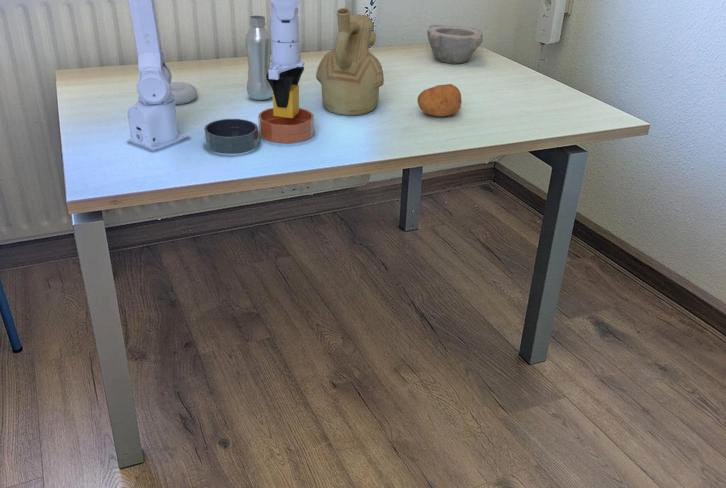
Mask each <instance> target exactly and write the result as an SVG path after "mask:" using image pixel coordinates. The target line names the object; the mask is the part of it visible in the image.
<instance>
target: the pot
mask: <svg viewBox="0 0 726 488" xmlns="http://www.w3.org/2000/svg"><path fill="white" fill-rule="evenodd" d="M203 132H204V144H205V147H206V148H207V149H208V150H210V151H211V152H214V153H217V154H224V155H236V154H242V153H247V152H251V151H253V150H254V149H256V148H257V147H258V146H259V126H258V124H256V123H255V122H253V121H250V120H247V119H243V118H222V119H216V120H214V121H211V122H208V123H207V124H206V125H204V128H203Z"/></svg>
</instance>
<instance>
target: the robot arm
mask: <svg viewBox="0 0 726 488" xmlns="http://www.w3.org/2000/svg"><path fill="white" fill-rule="evenodd" d="M127 2H128V7H129V13H130V18H131V23H132V29H133V35H134V40H135V46H136V52H137V70H138V79H137V83H136V92H137V94H138V97H137V99H138V100H137V102H136V103H135V104H134V105H132V106H130V107H129V108H128V111H127V120H128V126H129V134H130V138H129V139H128V142H129V143H135V144H137V145H140V146H143V147H146V148H148V149H151V150H157V149H159V148H162V147H165V146H168V145H170V144H173V143H175V142H177V141H181V140H183V139H185V138H188V135H187V134H184V133H181V132H179V129H178V117H177V109H176V104H175V99H174V95H173V94H172V93H171V91H170V88H169V86H170V83H171V82H172V78H173V76H172V71H171V70H170V68H169V67H168V66H167V64H166V61H165V55H164V52H163V49H162V44H161V43H162V42H161V37H160V31H159V25H158V19H157V13H156V12H157V11H156V6H155V0H127ZM270 2H271V3H270V11H271V12H270V13H271V14H270V19H269V20H270V36H271V53H270V69H269V70H268V71H269V73H268V74H266V79H267V81H268V82H269V84H270V86H271V88H272V90H273V92H272V94H273V93H274V97H275V101H276V104H277V107H283V108H286V107H287V105H288V101H289V92H290V87H291V84H292V85H299V83H300V80H301V77H302V75H303V73H304V71H305V61H302V56H301V55H302V53H301V52H300V44H299V43H300V40H299V39H300V37H299V35H300V33H299V32H300V31H299V29H300V28H299V25H300V24H299V23H300V22H299V21H300V19H299V16H298V14H299V8H298V6H299V5H300V2H301V0H270Z"/></svg>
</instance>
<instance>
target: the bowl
mask: <svg viewBox="0 0 726 488" xmlns="http://www.w3.org/2000/svg"><path fill="white" fill-rule="evenodd" d="M257 119H258V136H259V137H260V138H262V139H263V140H265V141H267V142H271V143H276V144H296V143H302V142H305V141H307V140H310V139H311V138H312V137H314V135H315V133H314V132H315V115H314V114H313V112H312V111H309V110H308V109H305V108H302V107H299V112H298V113H297V114H296V115H295V116H294V117H293V118H286V117H279V116H273V107H270V108H267V109H264V110H262V111H260V112H259V113H258V116H257Z"/></svg>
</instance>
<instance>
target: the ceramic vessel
mask: <svg viewBox="0 0 726 488" xmlns="http://www.w3.org/2000/svg"><path fill="white" fill-rule="evenodd" d="M336 18H337V26H338V31H337V36H336V39H335V48H334V49H331V50H330V51H329V52H327V53H326V54H325V55H324V56H322V58H321V60H320V62H319V64H318V65H317V70H316V74H315V78H316V80H317V81H318V83H320V85H321V100H322V104H323V106H324V108H325V109H326V110H327V111H328V112H330V113H334V114H337V115H342V116H362V115H366V114H368V113H370V112H372V111H373V110H374V109H375V108H376V106H377V105H378V103H379V102H378V101H379V97H380V87H382V86H383V85H384V83H385V79H384V71H383V67H382V64H381V62H380V60H379V58H377V57H376V56H375V55H374V54H373V53H372V52H370V50H369V48H371V47H370V46H374V45H375V44H376V39H377V32H376V31H375V30H374V31H373V29H374V28H375V25H374V23H373V21H372V19H371V18H370V17H368V16H367V15H365V14H361V13H356V14H353V15H351V10H350V9H349V8H345V7H341V8H339V9H337V10H336Z"/></svg>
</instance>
